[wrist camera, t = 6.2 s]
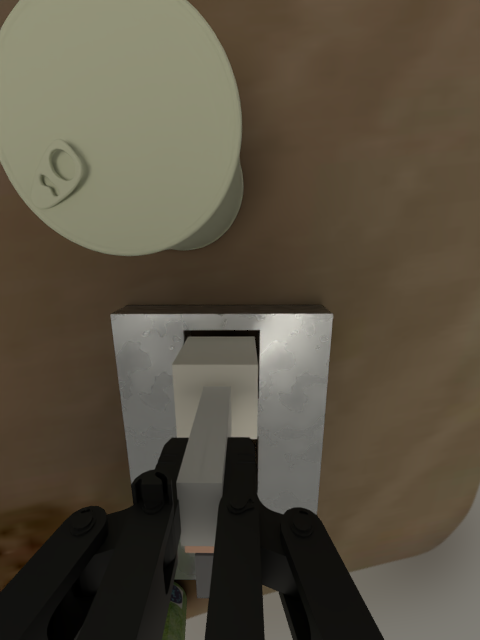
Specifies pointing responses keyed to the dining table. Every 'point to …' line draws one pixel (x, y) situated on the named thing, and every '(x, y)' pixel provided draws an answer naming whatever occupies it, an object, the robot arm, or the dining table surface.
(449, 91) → the dining table surface
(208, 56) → the can
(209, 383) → the cream key
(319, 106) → the dining table surface
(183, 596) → the beverage can
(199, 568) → the charcoal key
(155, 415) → the key panel
